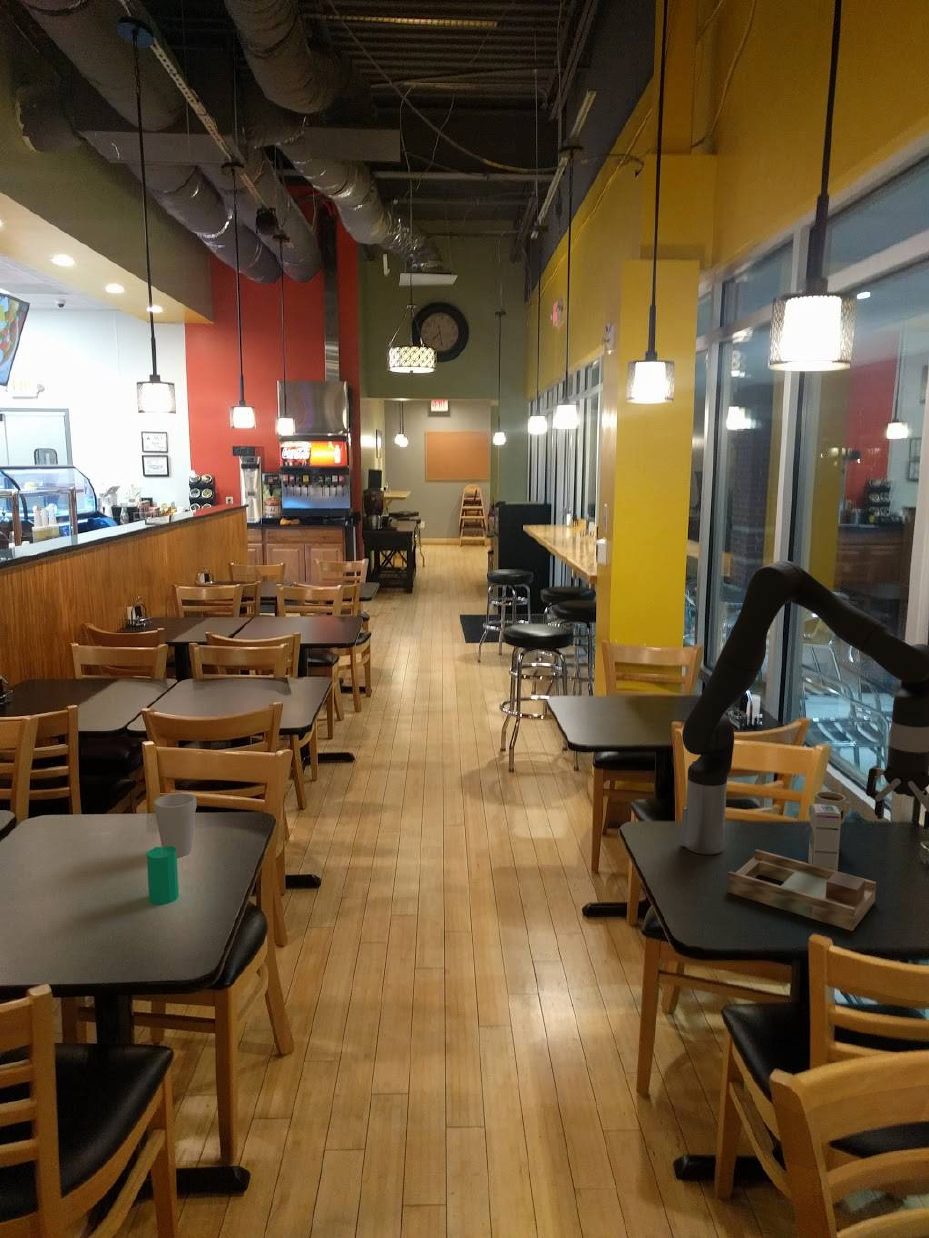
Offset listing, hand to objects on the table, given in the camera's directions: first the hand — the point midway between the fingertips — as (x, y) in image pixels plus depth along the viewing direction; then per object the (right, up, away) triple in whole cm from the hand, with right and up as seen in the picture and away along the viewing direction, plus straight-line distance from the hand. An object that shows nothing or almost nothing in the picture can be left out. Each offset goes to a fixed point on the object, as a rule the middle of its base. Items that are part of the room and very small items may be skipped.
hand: (903, 823), depth 177 cm
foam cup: (-156, -15, +33) cm, 160 cm away
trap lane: (-16, -19, +13) cm, 28 cm away
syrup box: (-5, -17, +28) cm, 33 cm away
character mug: (+1, -15, +40) cm, 42 cm away
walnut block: (-9, -17, +7) cm, 20 cm away
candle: (-152, -19, +11) cm, 153 cm away
